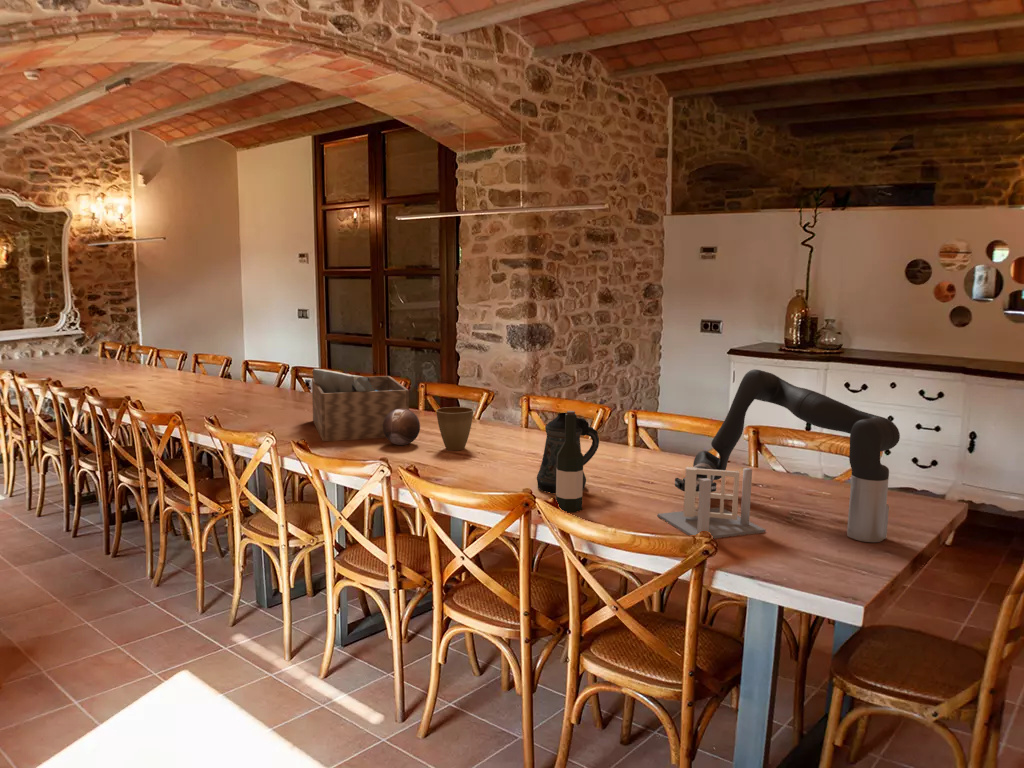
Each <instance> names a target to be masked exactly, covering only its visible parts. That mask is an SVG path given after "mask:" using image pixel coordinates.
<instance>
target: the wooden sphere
mask: <svg viewBox="0 0 1024 768" xmlns="http://www.w3.org/2000/svg"><path fill="white" fill-rule="evenodd" d="M420 430H421V423H420V420H419V417H418V416H417V415H416V414H415V412H414V411H411V410H410V409H409V410H408V409H403V408H400V409H395V410H393V411H391V412H390V413H389V414H388V415H387V416H386V418H385V420H384V423H383V431H384V434H385V436H386V437H385V438H386V439H387V440H388V441H389V442H390V443H392V444H393V445H397V446H404V445H409V444H411V443H412V442H414V441H415V440H416V439H417V437H418V436H419V434H420Z"/></svg>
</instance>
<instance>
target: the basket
mask: <svg viewBox="0 0 1024 768" xmlns="http://www.w3.org/2000/svg"><path fill="white" fill-rule="evenodd" d="M368 377H369V376H362V375H357V374H356V375H355V374H350V373H344V372H339V371H333V370H329V369H321V368H313V369H312V379H314V381H315V383H316V384H318V385H319V386H320V388H321V389H322V391H323V392H324V393H342V392H367V391H377V390H374V388H373V387H372V385H371V384H370V379H369V378H368ZM389 391H391V390H389Z"/></svg>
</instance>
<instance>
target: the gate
mask: <svg viewBox="0 0 1024 768" xmlns="http://www.w3.org/2000/svg"><path fill="white" fill-rule="evenodd" d="M696 474H702V475H707V478H708V479H710V480H711V475H715V476H722V478H720V479H721V483H720V493H717V492H711V499H719V507H720V513H716V512H710V517H712V518H723V519H732V520H737V515H738V505H739V489H740V488H739V486H740V471H738V470H727V469H726V470H713V469H700V468H697V467H693V466H685V474H684V475H685V477H684V478H685V491H684V498H683V499H684V500H683V511H684V517H694V516H698V511H695V510H696V498H699V492H696ZM726 477H731V478H733V486H732V487H733V488H732V491H733V492H732V494H729V493H725V492H726V491H725V489H726ZM725 500H729V501H731V500H732V504H731V505H732V507H731V508H732V509H731V512H732V514H727V513H723V510H724V509H725V508H724V506H725Z"/></svg>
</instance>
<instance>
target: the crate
mask: <svg viewBox="0 0 1024 768" xmlns="http://www.w3.org/2000/svg"><path fill="white" fill-rule="evenodd" d="M367 377H368V378H369V379H370V384H371V385H372V387H373V388H374V390H377V391H367V392H342V393H324V392H323V391H322V389H321V388H320V386H319V385H318V384H316V383H315V381H314V379H313V378H311V389H312V391H311V398H312V399H311V400H312V422H313V424H314V426H315V429H316V431H317V432H318V435H319V436H320V439H321V441H322V442H332V441H333V442H335V441H348V440H350V441H351V440H366V439H367V440H368V439H383V438H386V436H385V434H384V431H383V423H384V420H385V418H386V416H387V415H388V414H389V413H390V412H391V411H393V410H395V409H400V408H403V409H408V410H410V398H409V397H410V395H409V394H410V393H409V389H408V388H407V387H405V386H404V385H402V384H401V383H400V382H398V381H397V380H396V379H395V378H394V377H391V376H390V375H378V376H377V375H375V376H367ZM389 390H391V391H389Z"/></svg>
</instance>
